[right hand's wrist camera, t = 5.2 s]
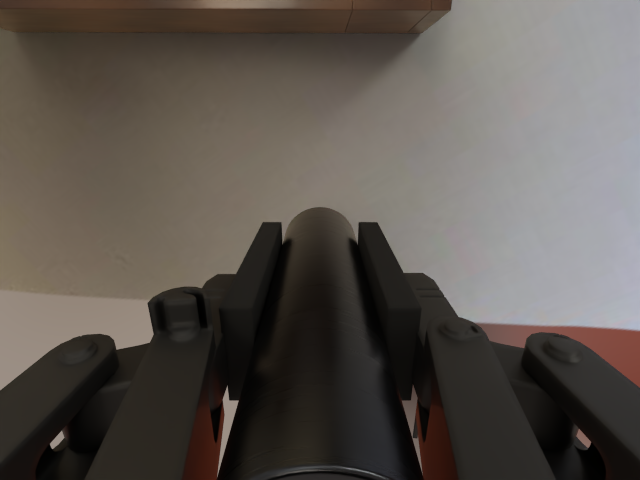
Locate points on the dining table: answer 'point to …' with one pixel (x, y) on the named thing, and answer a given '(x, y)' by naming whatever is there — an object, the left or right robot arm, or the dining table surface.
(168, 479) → the right robot arm
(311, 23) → the peg rail
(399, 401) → the peg
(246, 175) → the dining table surface
